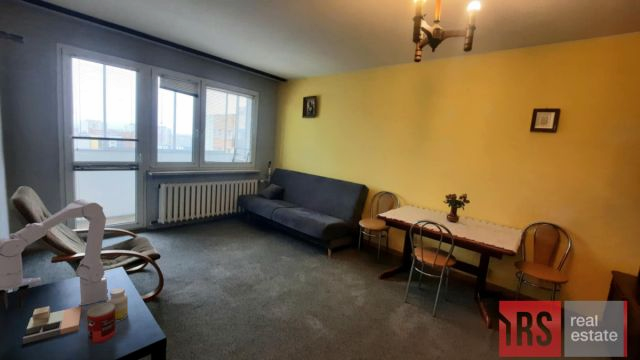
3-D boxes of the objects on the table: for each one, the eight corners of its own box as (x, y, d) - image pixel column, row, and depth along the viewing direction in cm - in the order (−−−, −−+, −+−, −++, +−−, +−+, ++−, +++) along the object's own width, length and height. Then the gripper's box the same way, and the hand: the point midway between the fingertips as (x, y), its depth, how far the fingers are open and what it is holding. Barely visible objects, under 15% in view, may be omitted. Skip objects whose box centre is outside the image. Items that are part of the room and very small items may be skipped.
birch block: (50, 315, 109) (49, 306, 109) (48, 321, 106) (47, 311, 106) (35, 318, 107) (34, 309, 106) (33, 324, 104) (32, 314, 103)
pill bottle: (114, 312, 117) (113, 286, 115) (131, 312, 118) (130, 286, 116) (104, 322, 111) (103, 294, 109) (121, 322, 111) (121, 295, 110)
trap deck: (81, 310, 116) (81, 306, 116) (78, 329, 106) (78, 324, 106) (31, 322, 108) (31, 317, 108) (23, 343, 97) (22, 338, 97)
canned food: (92, 332, 105) (91, 304, 104) (118, 327, 108) (117, 301, 107) (84, 346, 98) (83, 316, 97) (112, 341, 101) (111, 312, 100)
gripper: (-26, 281, 92) (-22, 319, 94) (37, 271, 101) (39, 307, 102) (-18, 272, 97) (-15, 308, 99) (41, 263, 106) (43, 297, 108)
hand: (13, 307), depth 101 cm, fingers open, 3 cm apart
